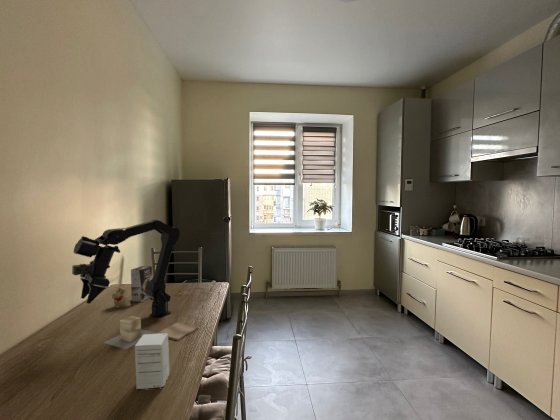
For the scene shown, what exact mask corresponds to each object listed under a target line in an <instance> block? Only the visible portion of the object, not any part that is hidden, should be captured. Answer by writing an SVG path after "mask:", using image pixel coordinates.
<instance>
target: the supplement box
mask: <svg viewBox="0 0 560 420" xmlns="http://www.w3.org/2000/svg"><path fill="white" fill-rule="evenodd" d="M169 353H170V352H169V338H168V333H161V334H144V335H142V337H141V338H140V340H139V341H138V342H137V344H135V345H134V356H135V357H134V358H135V359H134V360H135V361H134V362H135V381H136V383H135V385H136V386H135V387H136V390H137V389H143V388H154V387H163V386H164V387H165V385H166V383H167V381H166V380H168V378H169V375H170V373H171V372H170V356H169V355H170V354H169Z"/></svg>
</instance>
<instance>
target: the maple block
mask: <svg viewBox="0 0 560 420" xmlns="http://www.w3.org/2000/svg"><path fill="white" fill-rule="evenodd" d="M141 329H142V321H141V317H137V316H133V315H131V316H128V317H124V318H122V319H120V320H119V335H120V339H122V340H126V341H129V342H130V341H132V340H134V339H136V338H138V337H140V336H141Z"/></svg>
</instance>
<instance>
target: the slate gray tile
mask: <svg viewBox="0 0 560 420" xmlns="http://www.w3.org/2000/svg"><path fill="white" fill-rule="evenodd" d="M156 333H157V332H153V331H149V330H145V329H142V328H141V336H140V337H138V338H136V339H134V340H132V341H130V342H129V341H126V340H122V339H120V334H118V335H116V336H115V337H112V338H109V339H107V340H105V341H104V342H102V343H103V344H107V345H111V346H114V347H117V348H119V349H123V350H127V349H129V348H131V347H133V346H135V345H136V344H137V342H138V341H139V340H140V338H141V337H142V335H144V334H156Z"/></svg>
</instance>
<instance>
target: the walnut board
mask: <svg viewBox="0 0 560 420" xmlns="http://www.w3.org/2000/svg"><path fill="white" fill-rule="evenodd" d="M197 330H199V327H198V326H193V325H190V324H185V323H182V322H175V323H174V324H172V325H170V326H168V327H166V328H164V329H162V330H160V331H158V332H155V333H156V334H161V333H168V340H173V341H180V340H183V338H186V337H188V336H189V335H191V334H192V333H195V332H196V331H197ZM185 336H186V337H185Z"/></svg>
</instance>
